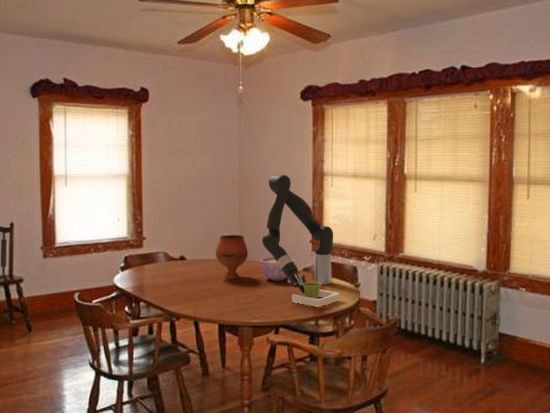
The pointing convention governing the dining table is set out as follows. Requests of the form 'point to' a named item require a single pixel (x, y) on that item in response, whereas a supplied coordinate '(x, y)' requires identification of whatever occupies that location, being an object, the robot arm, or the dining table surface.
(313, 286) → the plant pot
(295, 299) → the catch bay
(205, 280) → the dining table surface
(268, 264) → the bowl of food
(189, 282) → the dining table surface
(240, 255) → the goblet
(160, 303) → the dining table surface
